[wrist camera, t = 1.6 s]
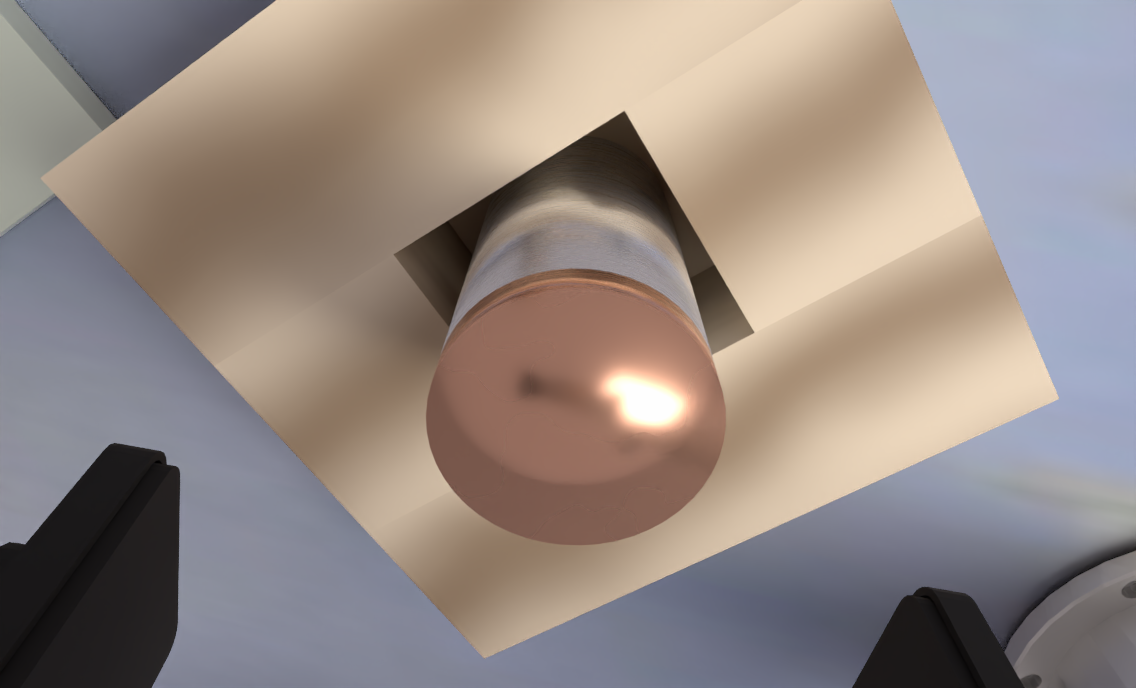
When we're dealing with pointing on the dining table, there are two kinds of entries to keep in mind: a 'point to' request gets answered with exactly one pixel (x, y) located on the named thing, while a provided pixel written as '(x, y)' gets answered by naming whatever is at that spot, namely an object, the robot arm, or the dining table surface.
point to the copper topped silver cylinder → (577, 358)
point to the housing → (456, 214)
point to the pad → (37, 114)
